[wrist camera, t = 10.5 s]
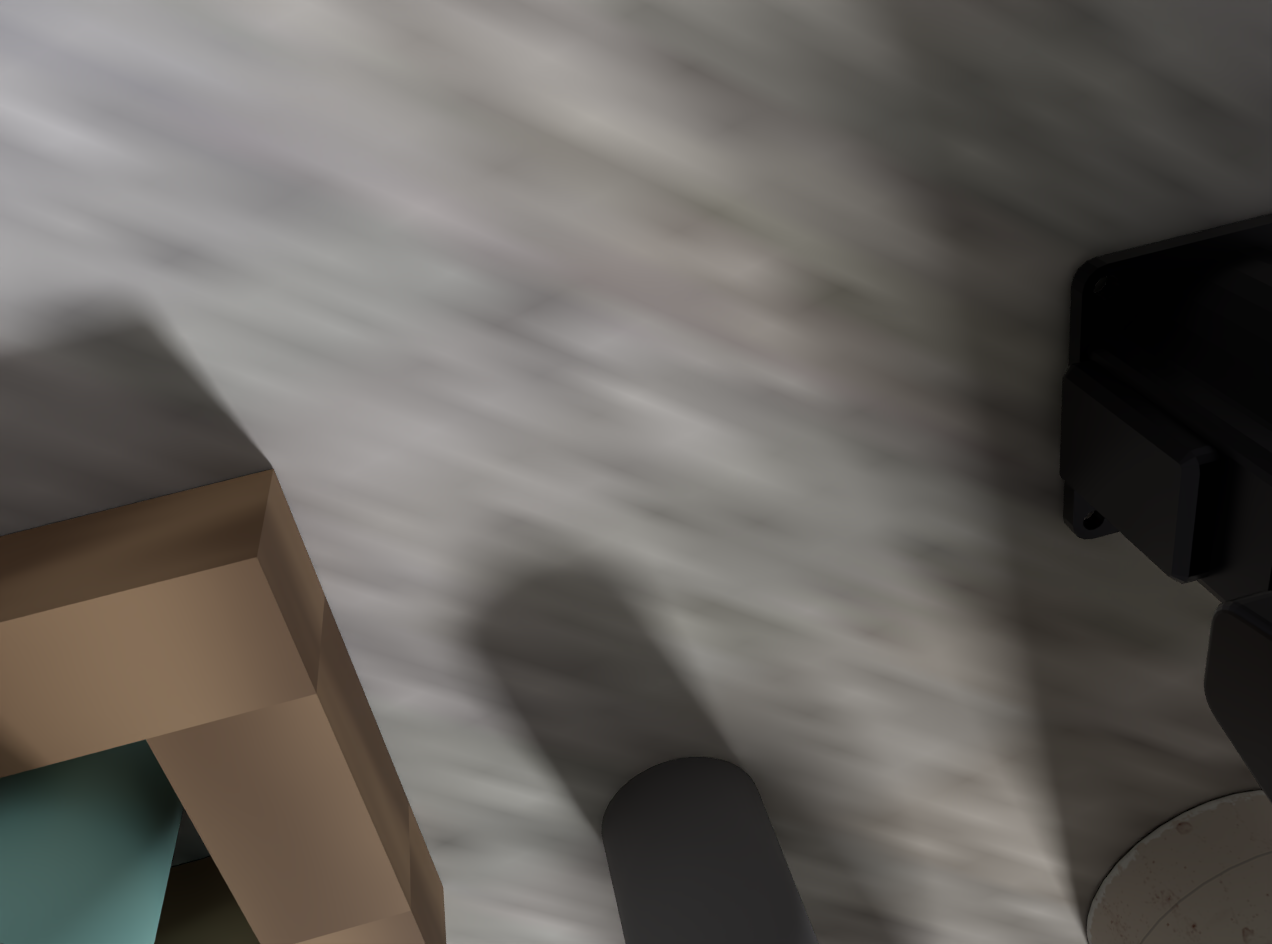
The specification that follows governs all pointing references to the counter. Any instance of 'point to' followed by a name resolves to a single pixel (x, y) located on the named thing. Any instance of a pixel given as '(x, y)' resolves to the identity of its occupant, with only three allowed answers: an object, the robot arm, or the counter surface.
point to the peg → (87, 849)
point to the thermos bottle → (1193, 880)
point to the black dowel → (699, 860)
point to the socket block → (218, 712)
